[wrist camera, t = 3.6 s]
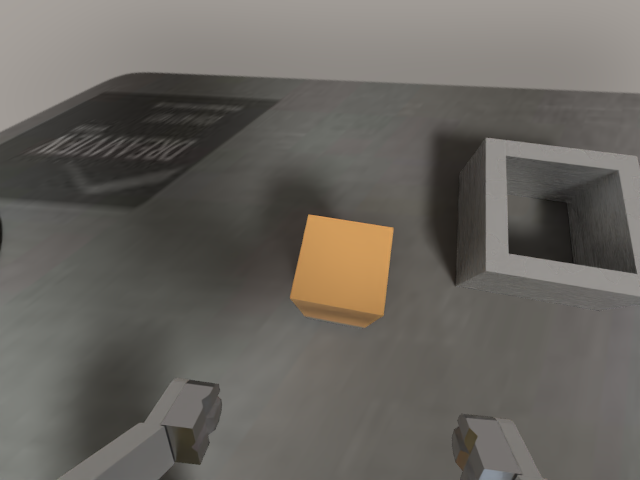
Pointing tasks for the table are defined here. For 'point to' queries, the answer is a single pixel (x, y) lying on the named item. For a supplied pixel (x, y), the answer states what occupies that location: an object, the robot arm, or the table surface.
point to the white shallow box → (584, 221)
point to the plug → (342, 271)
